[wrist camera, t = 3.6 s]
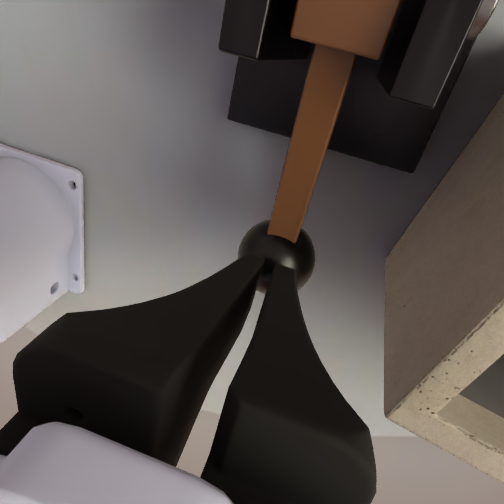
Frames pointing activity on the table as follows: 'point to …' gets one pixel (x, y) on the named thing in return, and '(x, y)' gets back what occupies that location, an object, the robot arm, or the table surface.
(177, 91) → the table surface
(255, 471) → the robot arm
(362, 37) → the lever
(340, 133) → the lever stand
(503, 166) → the beige open box
